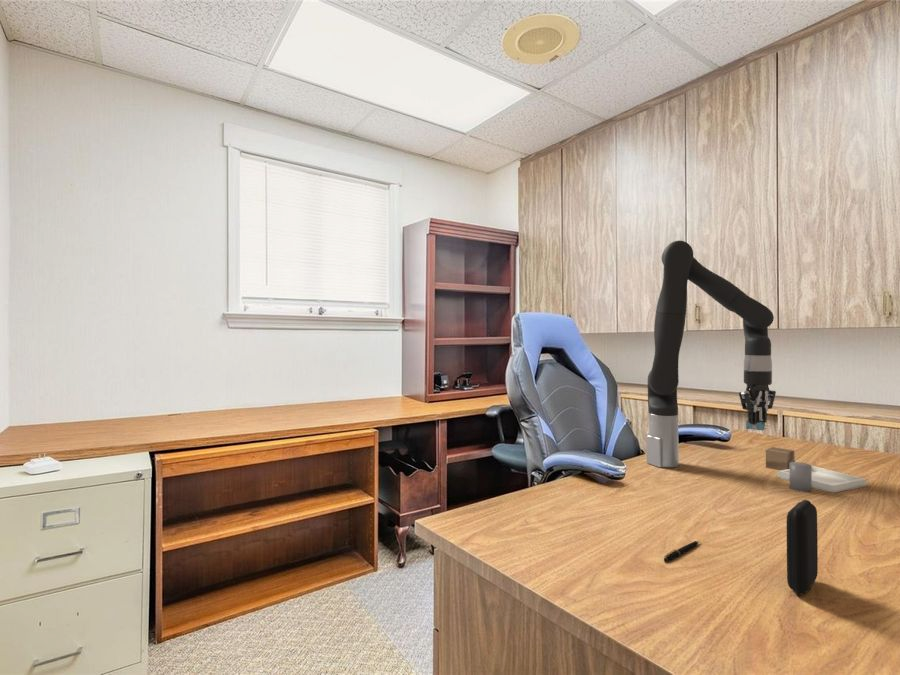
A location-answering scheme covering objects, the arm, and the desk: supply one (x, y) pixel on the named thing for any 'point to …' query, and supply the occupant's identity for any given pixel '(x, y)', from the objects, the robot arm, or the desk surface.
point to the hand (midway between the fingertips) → (757, 422)
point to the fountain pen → (679, 551)
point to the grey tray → (829, 480)
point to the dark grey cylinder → (800, 476)
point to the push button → (760, 422)
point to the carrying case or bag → (802, 547)
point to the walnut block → (779, 458)
